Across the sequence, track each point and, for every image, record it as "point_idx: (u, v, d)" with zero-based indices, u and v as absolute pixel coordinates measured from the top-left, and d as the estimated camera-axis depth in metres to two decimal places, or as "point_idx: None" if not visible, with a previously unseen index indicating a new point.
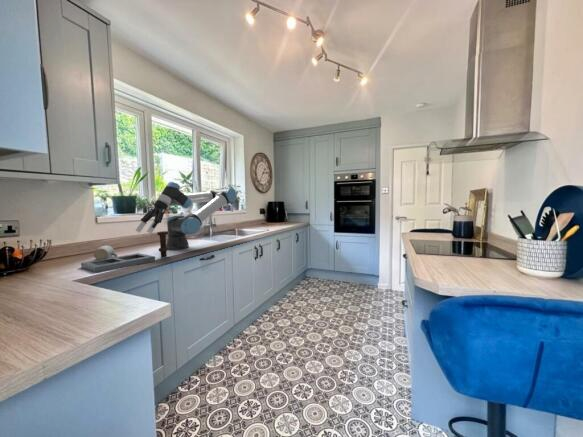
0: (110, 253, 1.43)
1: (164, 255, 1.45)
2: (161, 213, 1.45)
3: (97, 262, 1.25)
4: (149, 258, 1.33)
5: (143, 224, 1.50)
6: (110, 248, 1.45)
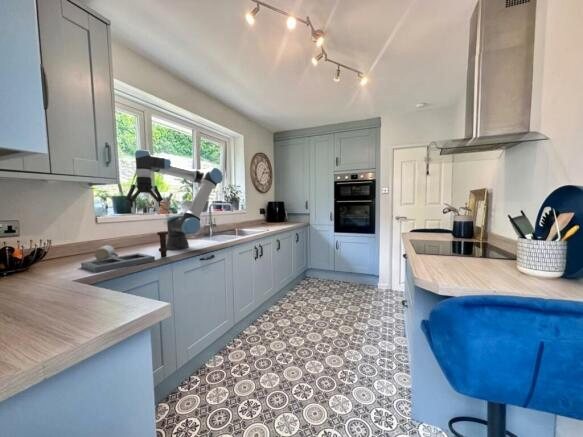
0: (111, 253, 1.43)
1: (164, 255, 1.45)
2: (130, 190, 1.38)
3: (97, 262, 1.25)
4: (149, 258, 1.33)
5: (156, 203, 1.50)
6: (111, 248, 1.45)
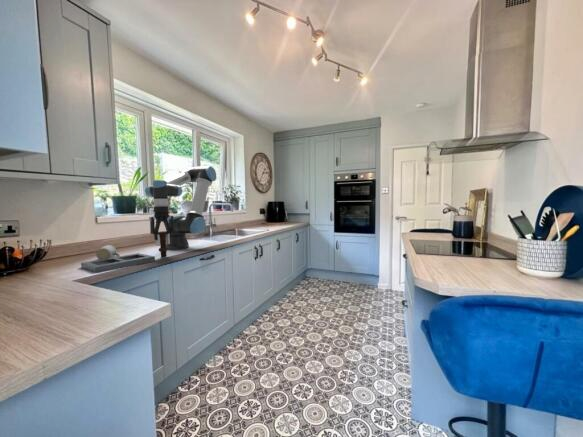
0: (112, 253, 1.44)
1: (164, 255, 1.45)
2: (150, 223, 1.40)
3: (97, 262, 1.25)
4: (149, 258, 1.33)
5: (167, 235, 1.47)
6: (112, 248, 1.45)
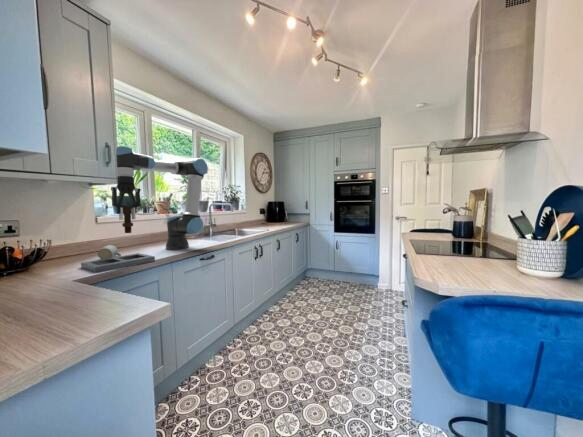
0: (114, 253, 1.44)
1: (128, 231, 1.30)
2: (112, 194, 1.25)
3: (97, 262, 1.25)
4: (149, 258, 1.33)
5: (132, 209, 1.32)
6: (114, 248, 1.45)
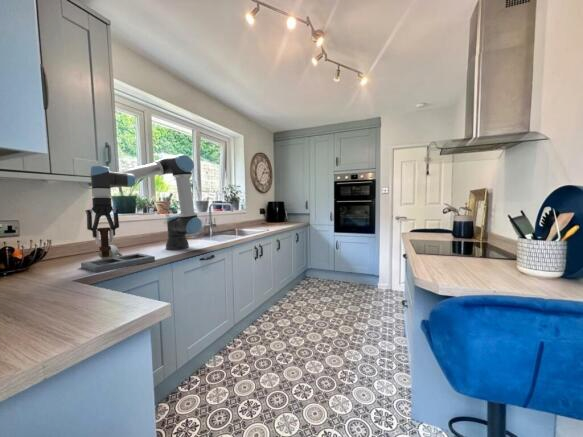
0: (115, 253, 1.44)
1: (106, 255, 1.23)
2: (87, 217, 1.18)
3: (97, 262, 1.25)
4: (149, 258, 1.33)
5: (110, 232, 1.25)
6: (115, 248, 1.45)
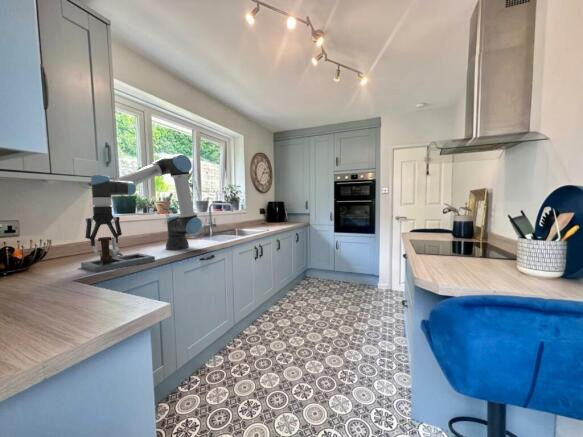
0: (116, 253, 1.44)
1: None
2: (87, 226, 1.18)
3: (97, 262, 1.25)
4: (149, 258, 1.33)
5: (113, 239, 1.26)
6: (116, 248, 1.45)
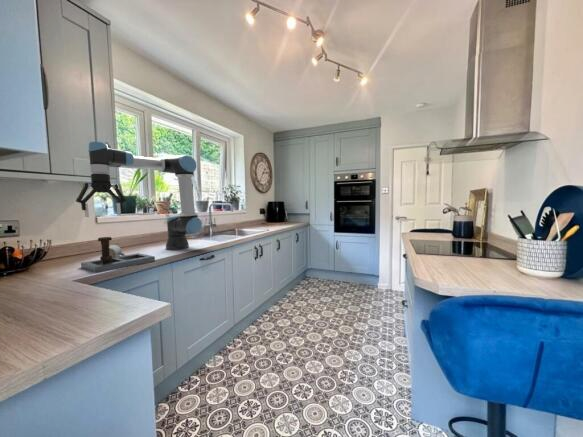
0: (118, 253, 1.44)
1: None
2: (82, 190, 1.16)
3: (97, 262, 1.25)
4: (149, 258, 1.33)
5: (117, 205, 1.28)
6: (118, 248, 1.46)
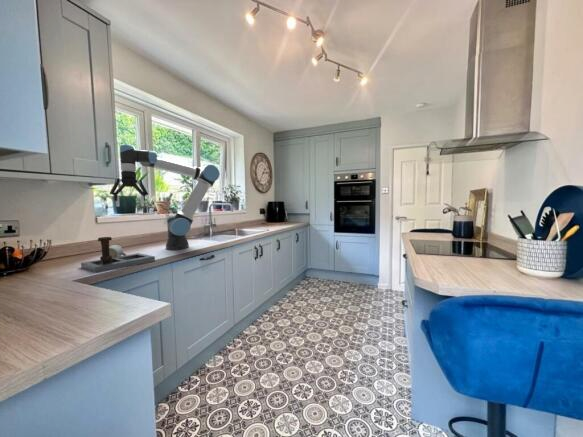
0: (119, 252, 1.44)
1: None
2: (114, 184, 1.41)
3: (97, 262, 1.25)
4: (149, 258, 1.33)
5: (141, 197, 1.53)
6: (119, 247, 1.46)
